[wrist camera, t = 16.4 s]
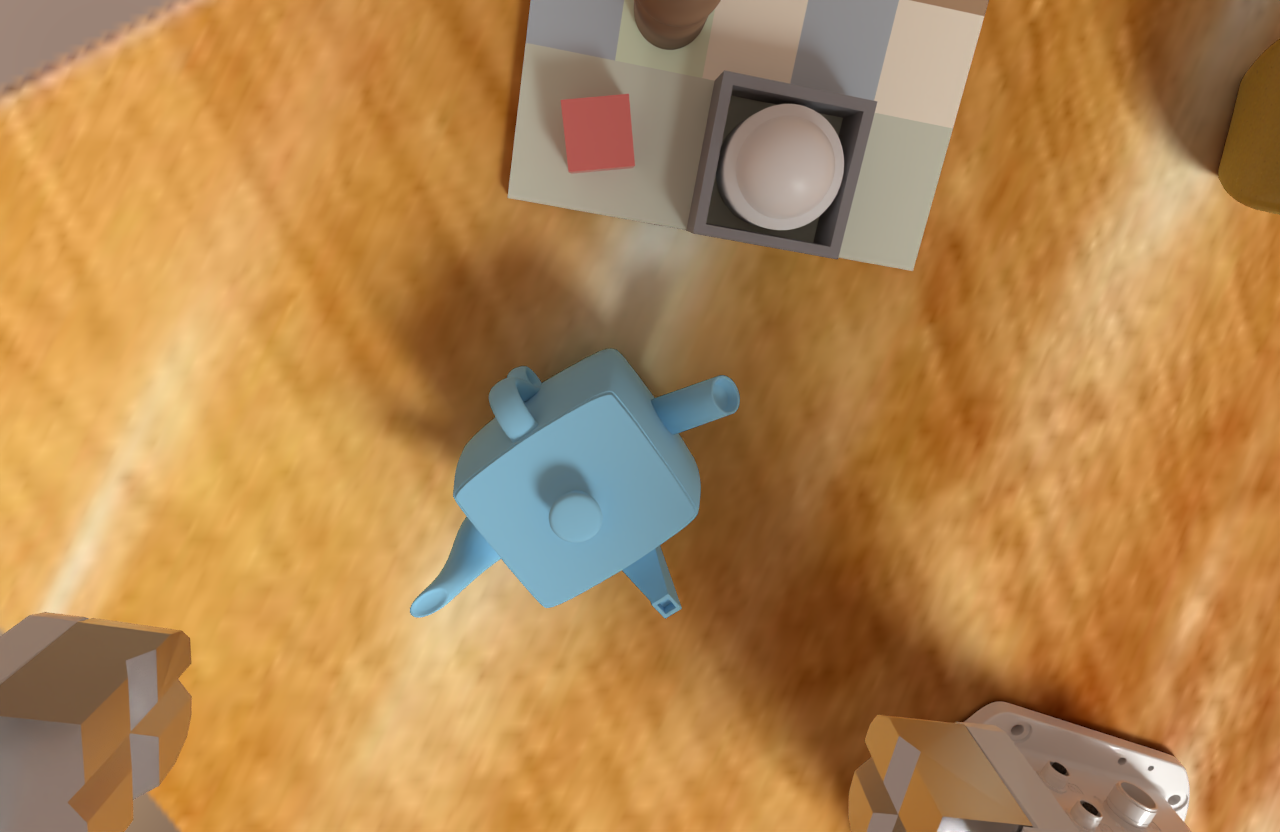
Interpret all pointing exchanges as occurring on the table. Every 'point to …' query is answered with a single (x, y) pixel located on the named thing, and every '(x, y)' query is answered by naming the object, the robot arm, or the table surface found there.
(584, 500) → the teapot
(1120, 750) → the robot arm
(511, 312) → the table surface
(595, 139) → the red cube
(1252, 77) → the flower pot
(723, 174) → the dome
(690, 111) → the board
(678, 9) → the pawn
